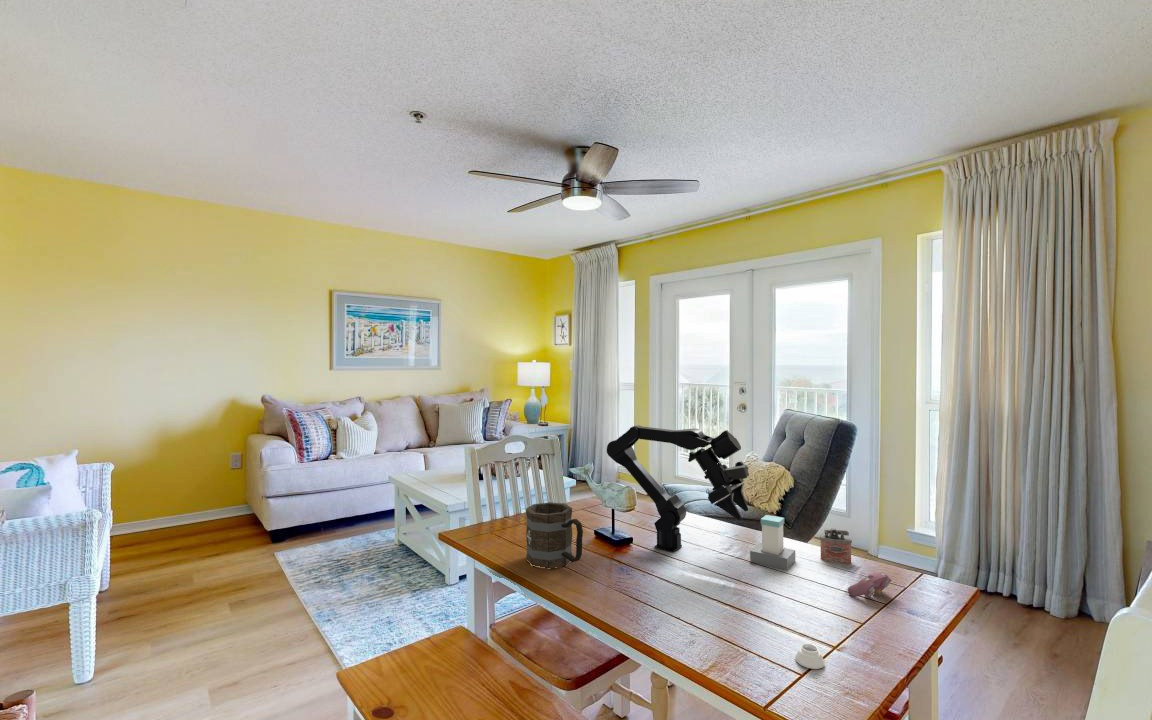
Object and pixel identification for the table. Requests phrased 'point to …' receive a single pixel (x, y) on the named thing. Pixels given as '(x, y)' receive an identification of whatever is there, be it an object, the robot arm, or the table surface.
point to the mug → (551, 535)
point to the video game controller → (870, 585)
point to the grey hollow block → (773, 557)
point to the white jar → (809, 657)
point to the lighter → (836, 546)
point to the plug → (772, 534)
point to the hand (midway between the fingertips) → (743, 514)
